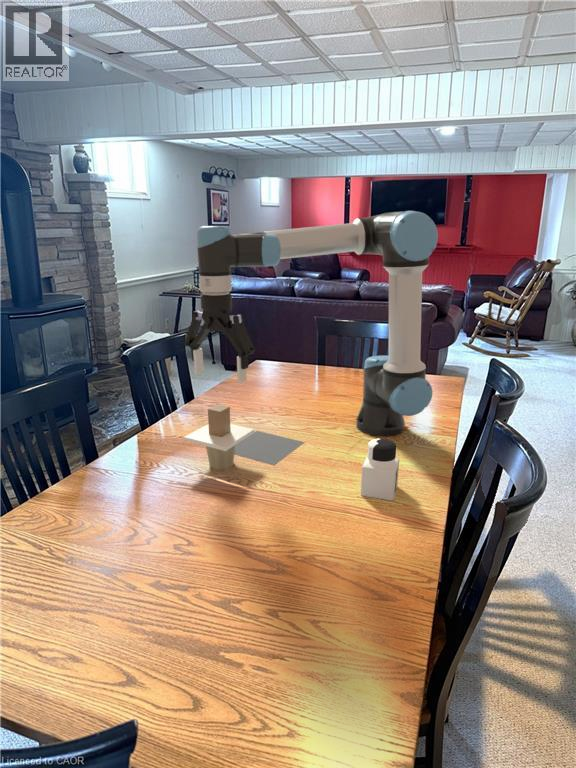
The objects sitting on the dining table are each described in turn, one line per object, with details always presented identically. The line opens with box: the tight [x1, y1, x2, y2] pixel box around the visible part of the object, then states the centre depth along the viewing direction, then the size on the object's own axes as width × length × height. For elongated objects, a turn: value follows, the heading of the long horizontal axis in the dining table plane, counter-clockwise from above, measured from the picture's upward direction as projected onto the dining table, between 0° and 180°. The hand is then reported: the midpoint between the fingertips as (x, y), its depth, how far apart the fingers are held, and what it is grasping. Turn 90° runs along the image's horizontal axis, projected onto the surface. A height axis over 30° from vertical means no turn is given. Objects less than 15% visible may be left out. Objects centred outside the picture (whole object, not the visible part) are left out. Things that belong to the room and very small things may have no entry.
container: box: [360, 437, 400, 502], centre depth 119 cm, size 8×8×13 cm
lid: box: [183, 404, 255, 451], centre depth 129 cm, size 13×13×8 cm
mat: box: [234, 430, 305, 466], centre depth 143 cm, size 17×17×1 cm
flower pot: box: [205, 445, 235, 471], centre depth 132 cm, size 9×9×9 cm
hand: (220, 377), depth 127 cm, fingers open, 13 cm apart
